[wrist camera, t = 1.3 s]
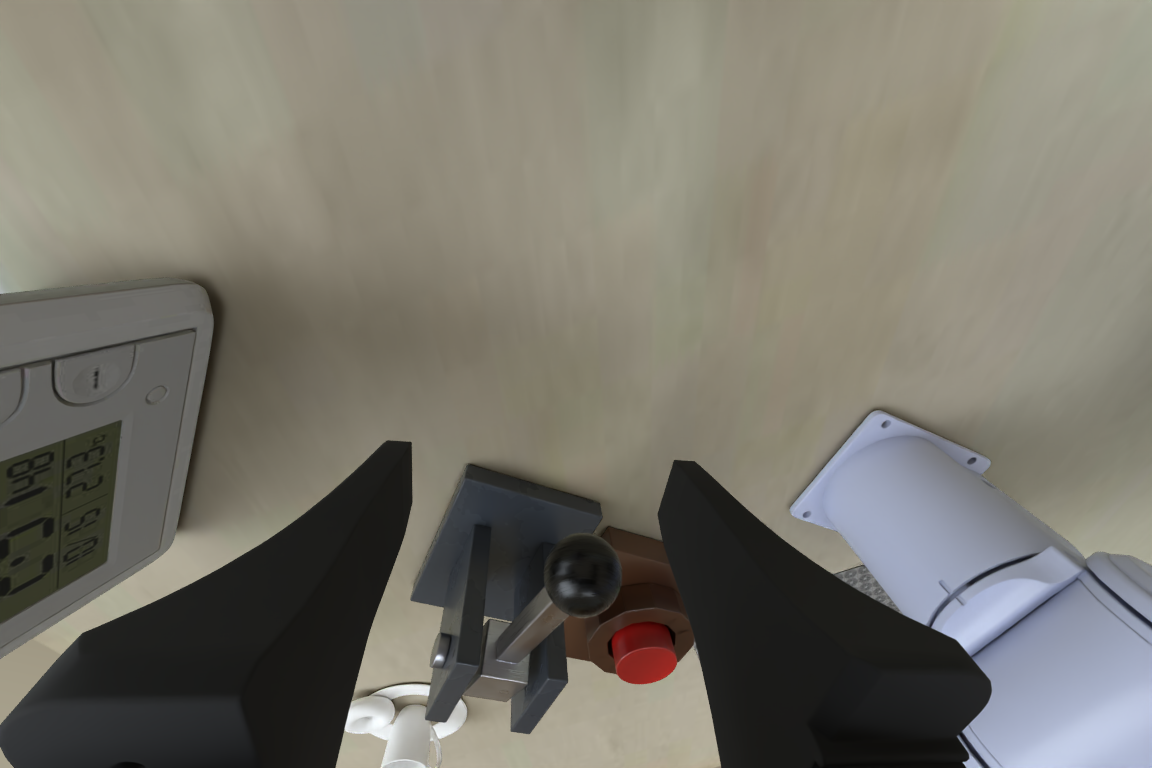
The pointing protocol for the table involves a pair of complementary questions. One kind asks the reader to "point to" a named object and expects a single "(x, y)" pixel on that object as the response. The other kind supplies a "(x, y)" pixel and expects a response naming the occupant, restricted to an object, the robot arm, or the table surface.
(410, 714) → the teacup and saucer
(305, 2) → the table surface
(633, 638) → the stop button
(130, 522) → the digital clock
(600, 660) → the stop block
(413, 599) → the switch bracket
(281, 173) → the table surface
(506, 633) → the switch lever
